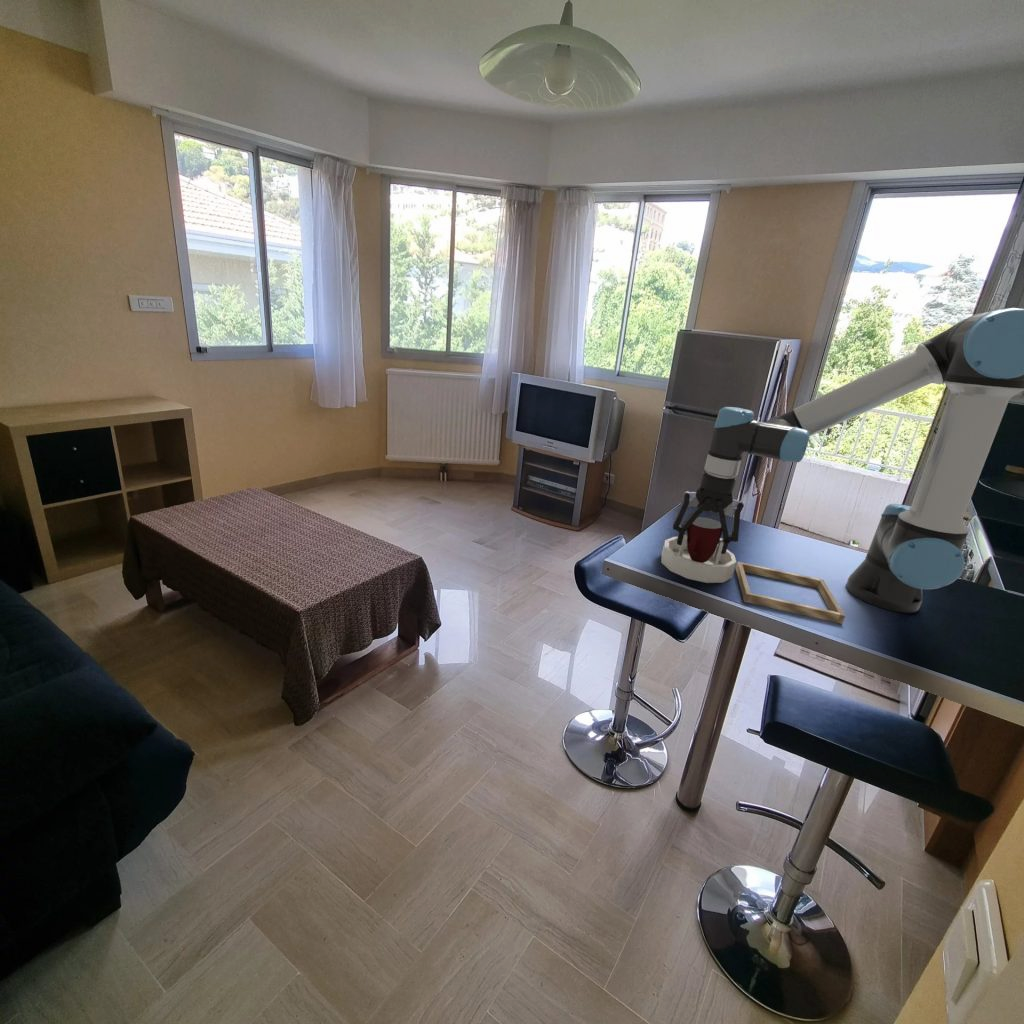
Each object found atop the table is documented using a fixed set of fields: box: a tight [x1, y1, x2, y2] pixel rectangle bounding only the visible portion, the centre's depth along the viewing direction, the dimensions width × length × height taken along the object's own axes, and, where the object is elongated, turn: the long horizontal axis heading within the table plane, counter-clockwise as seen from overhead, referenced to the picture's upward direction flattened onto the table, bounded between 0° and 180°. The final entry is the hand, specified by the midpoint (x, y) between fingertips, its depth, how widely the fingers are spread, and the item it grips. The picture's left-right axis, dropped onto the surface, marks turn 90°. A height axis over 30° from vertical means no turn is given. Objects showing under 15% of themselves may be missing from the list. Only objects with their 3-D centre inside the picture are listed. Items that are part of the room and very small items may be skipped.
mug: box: [686, 516, 723, 563], centre depth 128 cm, size 11×8×10 cm
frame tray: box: [734, 561, 846, 625], centre depth 121 cm, size 20×18×2 cm
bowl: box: [660, 536, 737, 584], centre depth 130 cm, size 17×17×4 cm
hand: (697, 560), depth 130 cm, fingers closed on mug, 8 cm apart
